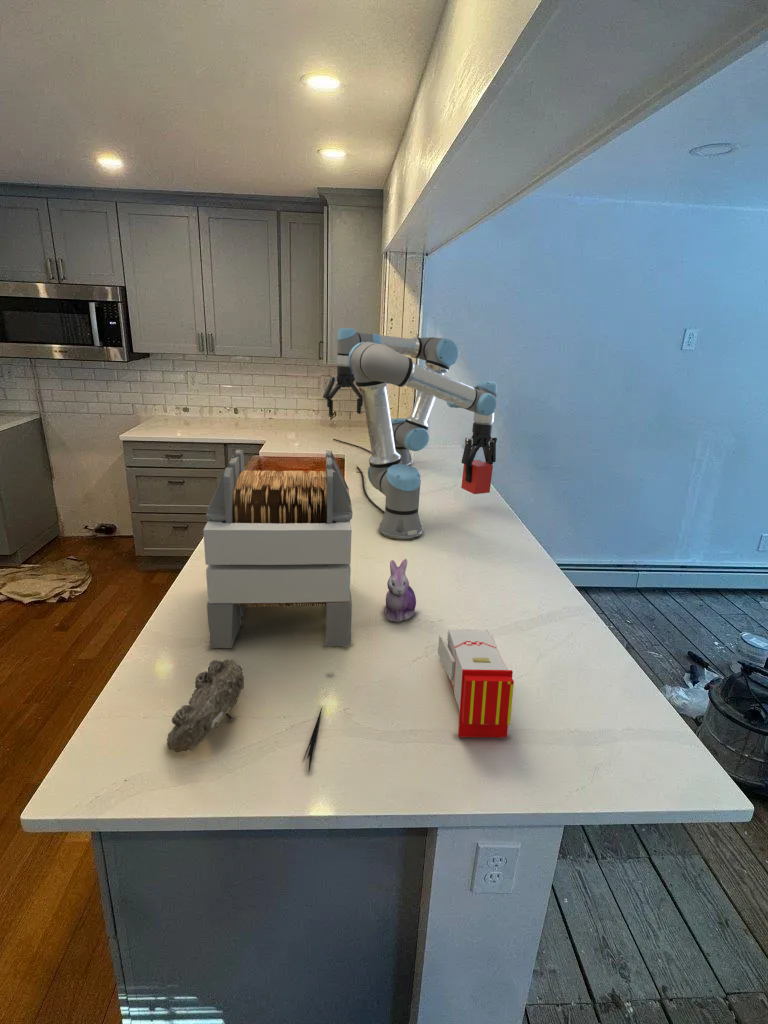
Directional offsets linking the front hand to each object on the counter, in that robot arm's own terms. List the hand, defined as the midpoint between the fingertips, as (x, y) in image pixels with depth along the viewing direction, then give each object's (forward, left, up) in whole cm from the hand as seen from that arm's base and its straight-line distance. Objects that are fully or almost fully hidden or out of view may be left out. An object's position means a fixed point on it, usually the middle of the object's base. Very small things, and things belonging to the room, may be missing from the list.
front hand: (476, 480), depth 223 cm
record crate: (+25, -102, -13) cm, 106 cm away
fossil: (+50, -134, -13) cm, 143 cm away
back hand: (-66, -15, +17) cm, 70 cm away
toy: (+76, -88, -13) cm, 117 cm away
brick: (0, 0, -4) cm, 4 cm away
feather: (+63, -118, -13) cm, 134 cm away
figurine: (+43, -79, -13) cm, 91 cm away
